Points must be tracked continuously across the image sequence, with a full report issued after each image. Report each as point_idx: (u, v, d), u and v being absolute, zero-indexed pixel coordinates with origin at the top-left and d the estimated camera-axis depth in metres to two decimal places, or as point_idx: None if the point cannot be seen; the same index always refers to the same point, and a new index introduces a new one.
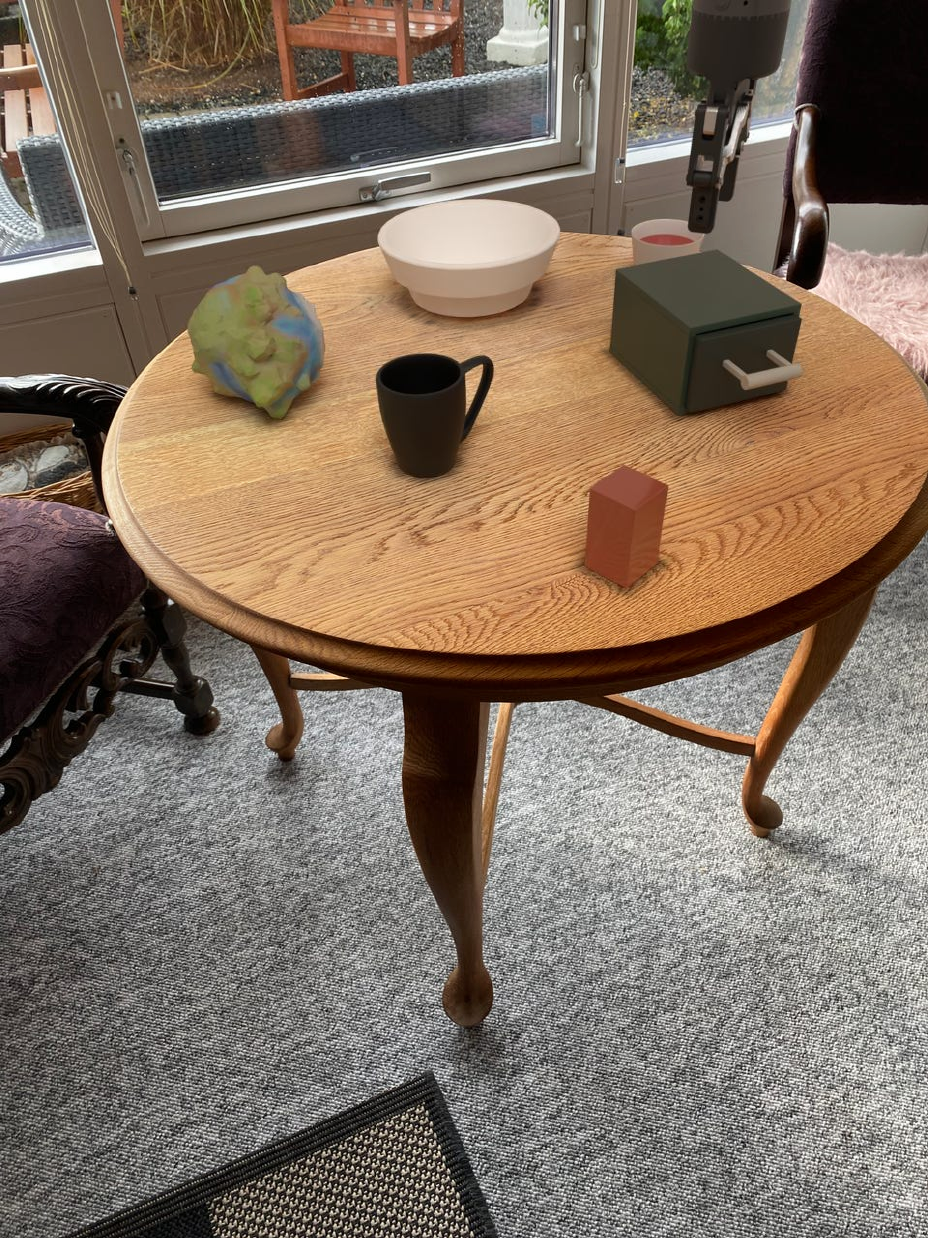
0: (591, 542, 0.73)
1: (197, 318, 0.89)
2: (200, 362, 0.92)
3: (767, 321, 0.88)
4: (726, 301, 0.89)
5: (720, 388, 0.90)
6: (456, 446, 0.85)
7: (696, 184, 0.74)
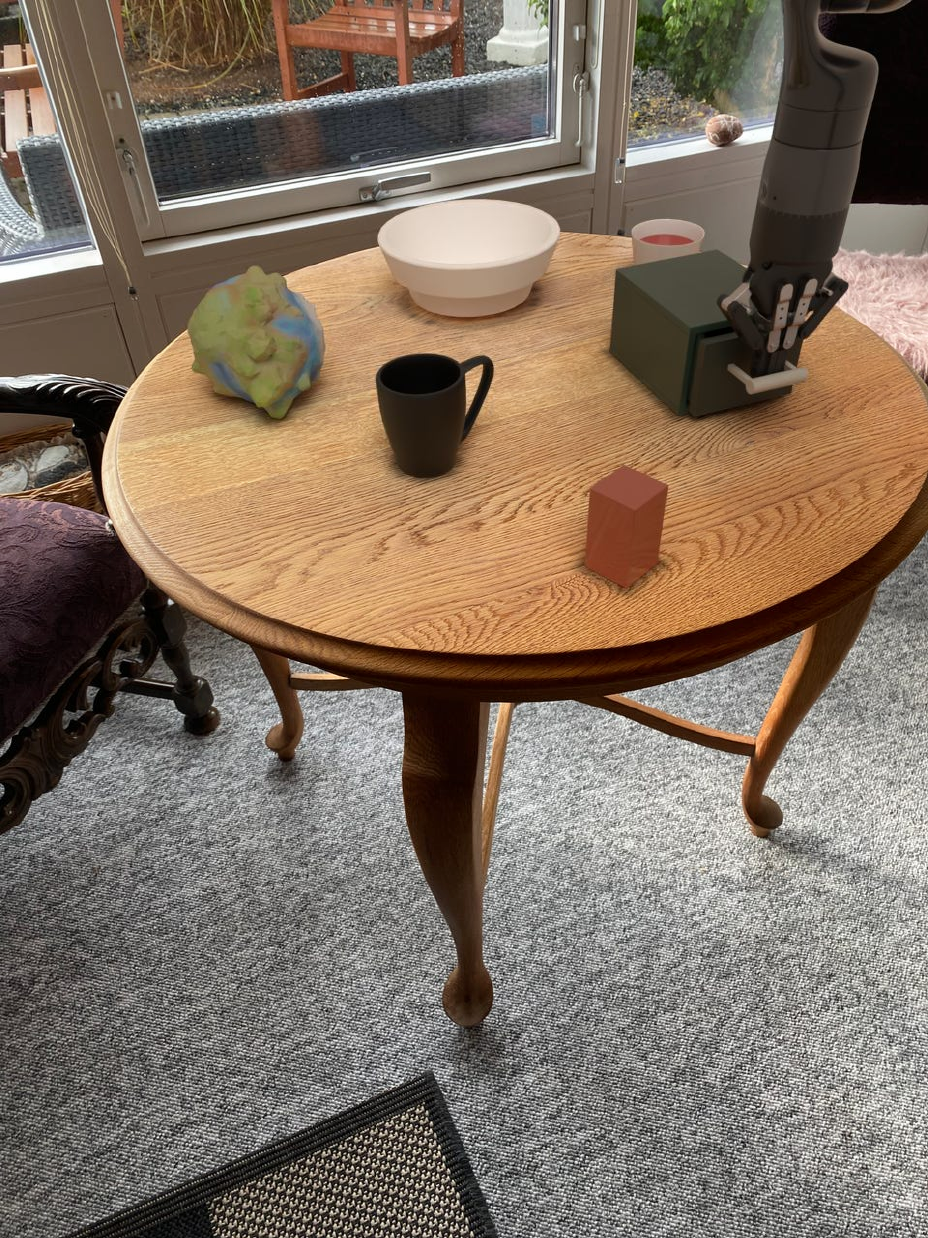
0: (591, 542, 0.73)
1: (197, 318, 0.89)
2: (200, 362, 0.92)
3: None
4: None
5: (725, 392, 0.89)
6: (456, 446, 0.85)
7: (743, 340, 0.83)
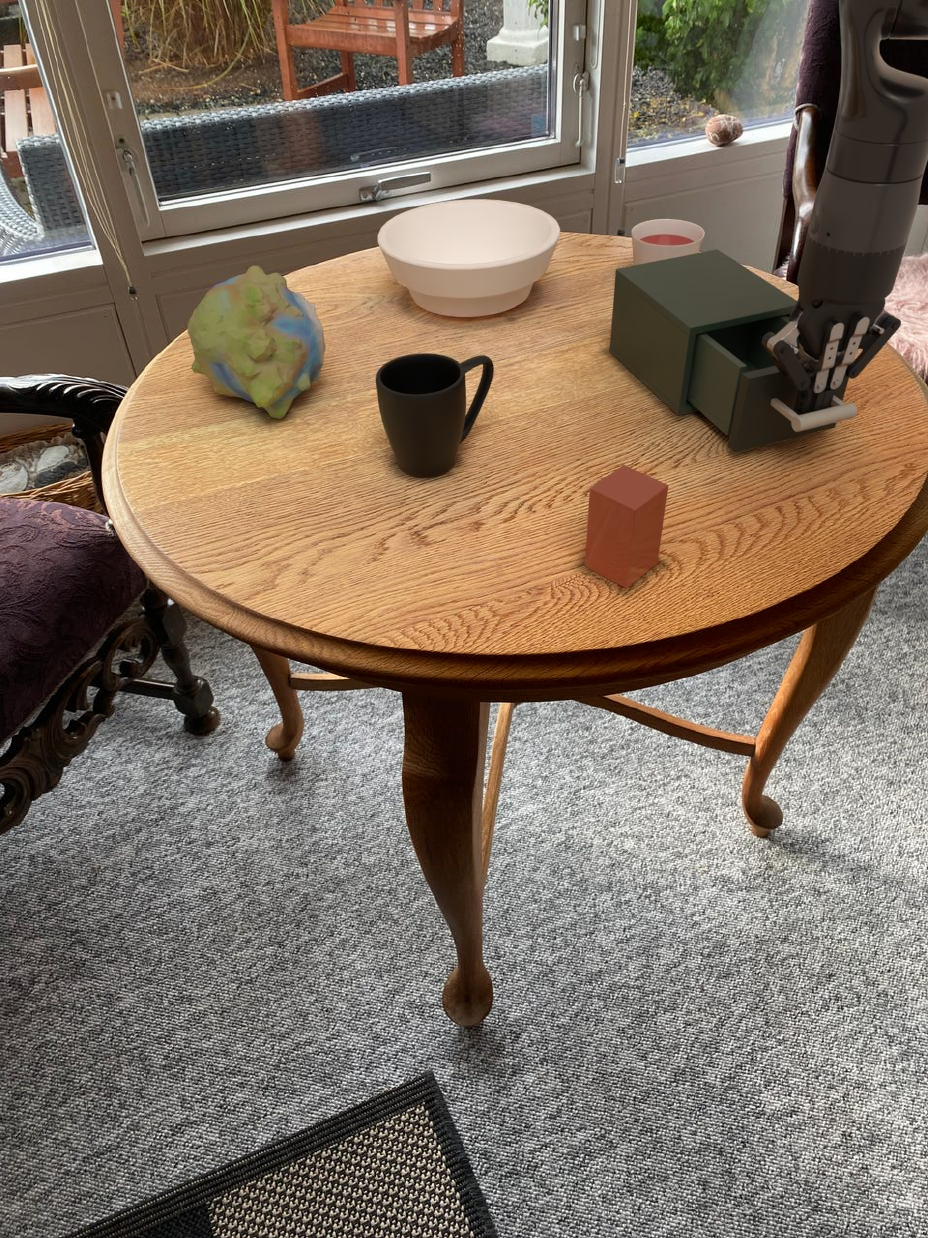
0: (591, 542, 0.73)
1: (197, 318, 0.89)
2: (200, 362, 0.92)
3: None
4: (726, 301, 0.89)
5: (767, 427, 0.84)
6: (456, 446, 0.85)
7: (787, 380, 0.79)
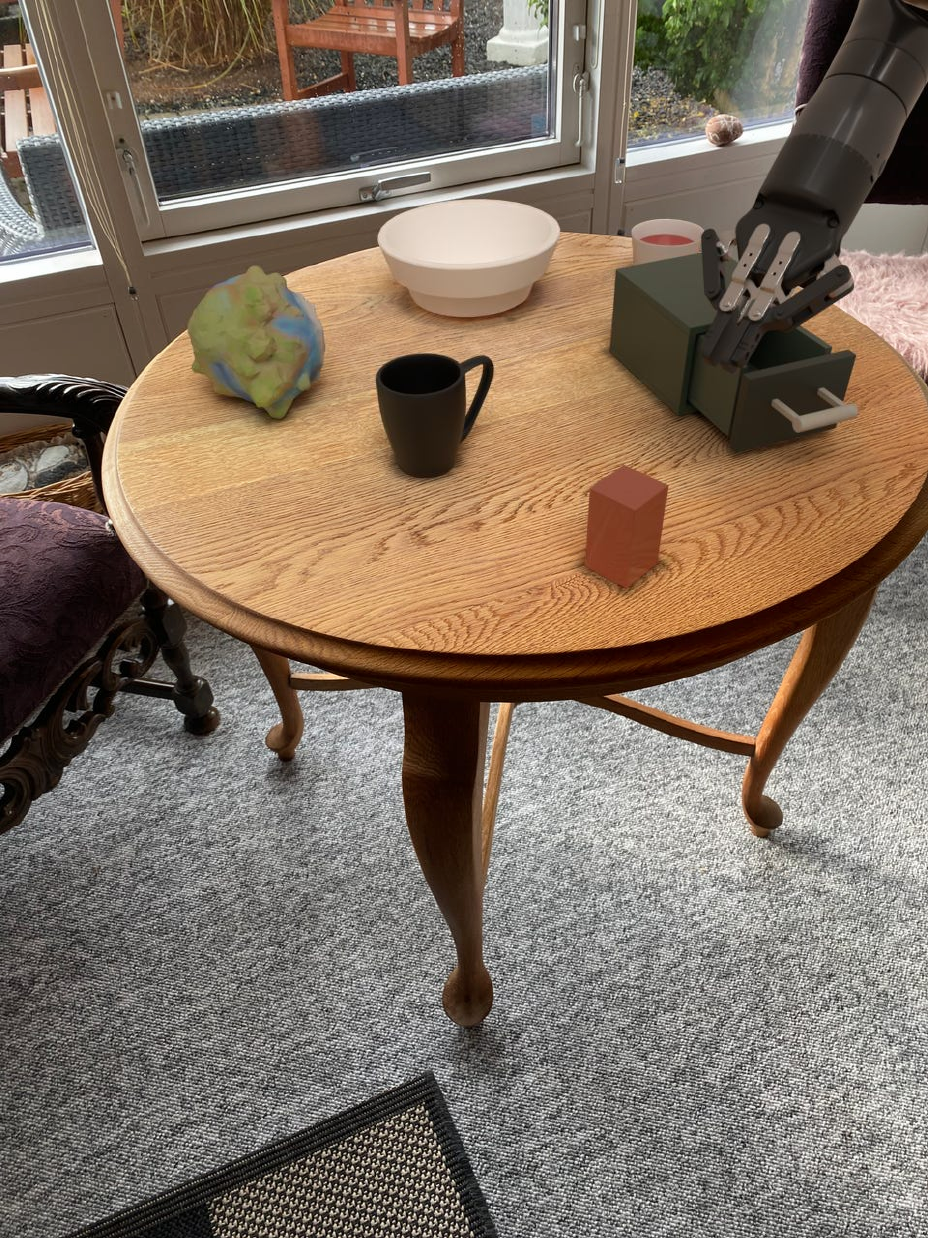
0: (591, 542, 0.73)
1: (197, 318, 0.89)
2: (200, 362, 0.92)
3: (819, 357, 0.82)
4: None
5: (767, 428, 0.84)
6: (456, 446, 0.85)
7: None
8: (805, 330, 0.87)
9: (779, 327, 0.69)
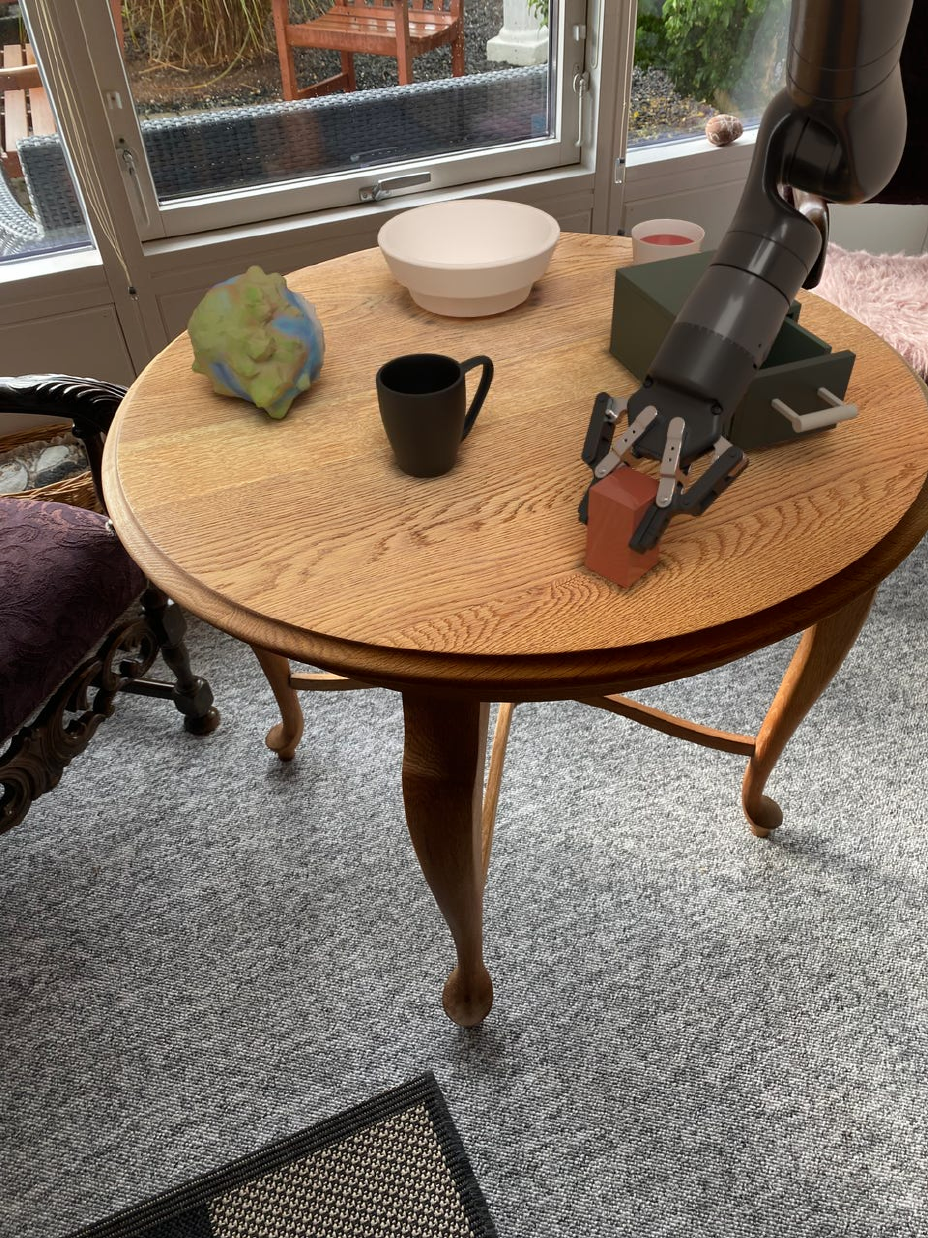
0: (591, 542, 0.73)
1: (197, 318, 0.89)
2: (200, 362, 0.92)
3: (819, 357, 0.82)
4: None
5: (767, 428, 0.84)
6: (456, 446, 0.85)
7: None
8: (805, 330, 0.87)
9: (689, 514, 0.69)
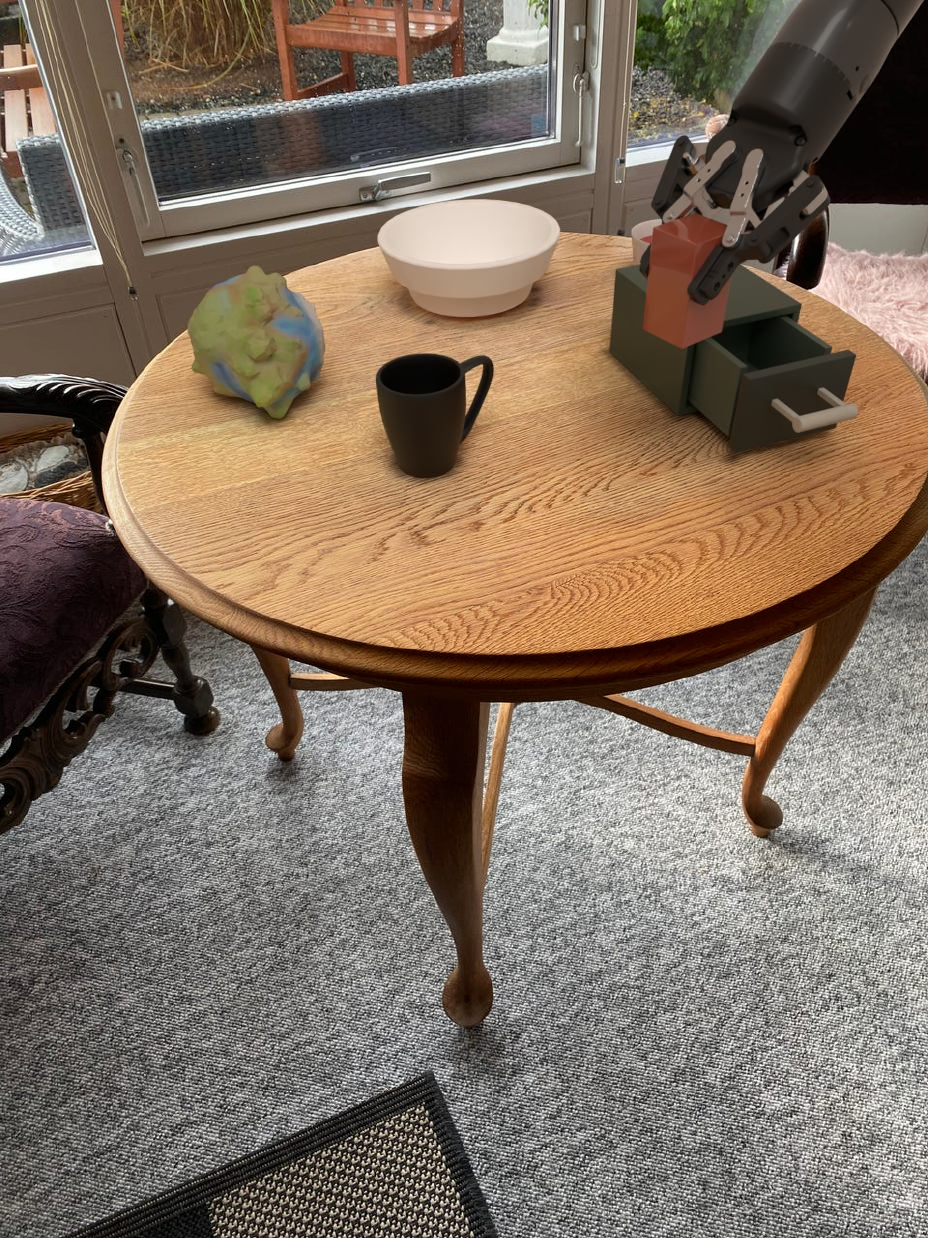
0: (651, 297, 0.69)
1: (197, 318, 0.89)
2: (200, 362, 0.92)
3: (819, 357, 0.82)
4: None
5: (767, 428, 0.84)
6: (456, 446, 0.85)
7: None
8: (805, 330, 0.87)
9: (757, 257, 0.64)
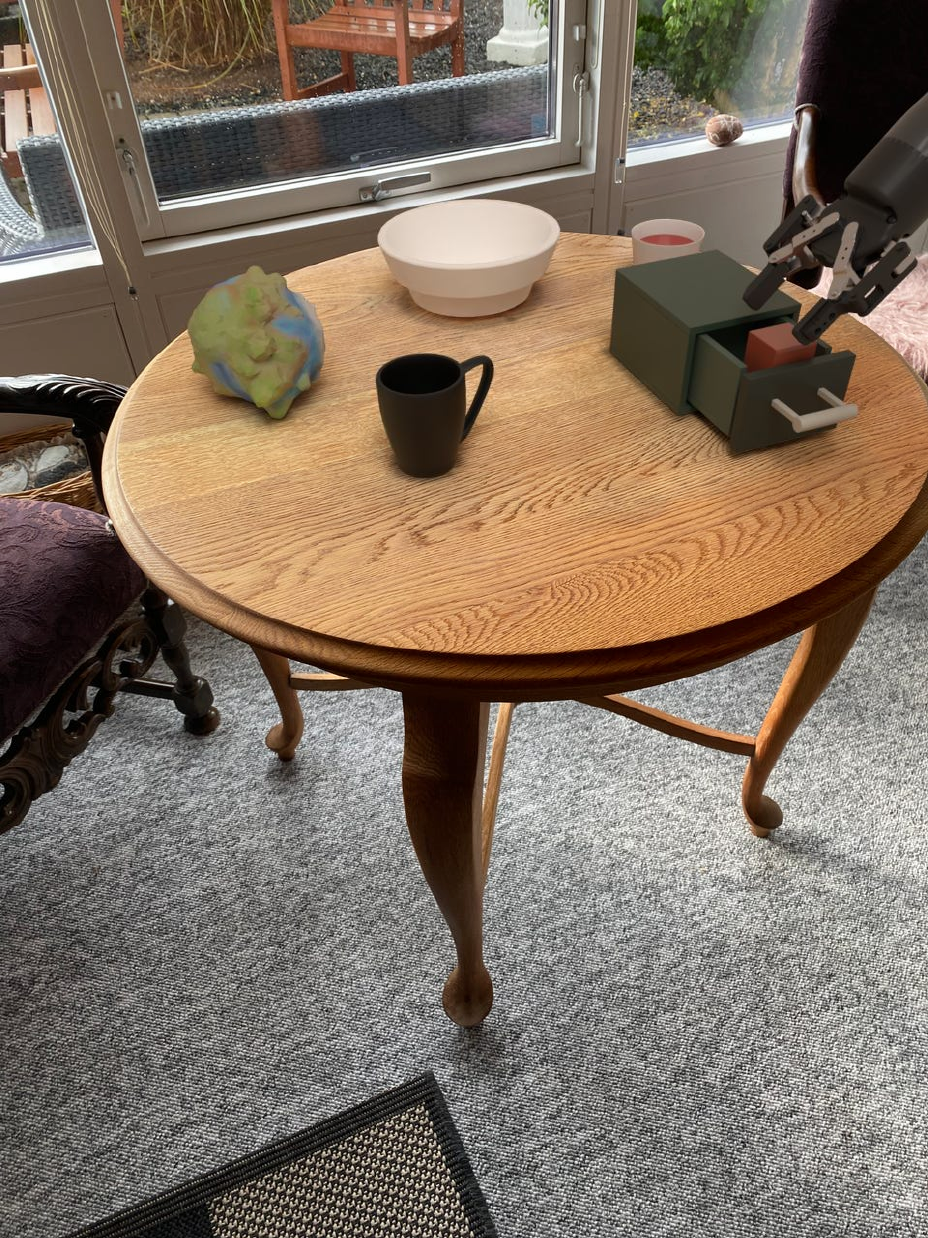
0: None
1: (197, 318, 0.89)
2: (200, 362, 0.92)
3: (819, 358, 0.82)
4: (726, 301, 0.89)
5: (767, 428, 0.84)
6: (456, 446, 0.85)
7: None
8: None
9: (856, 311, 0.75)
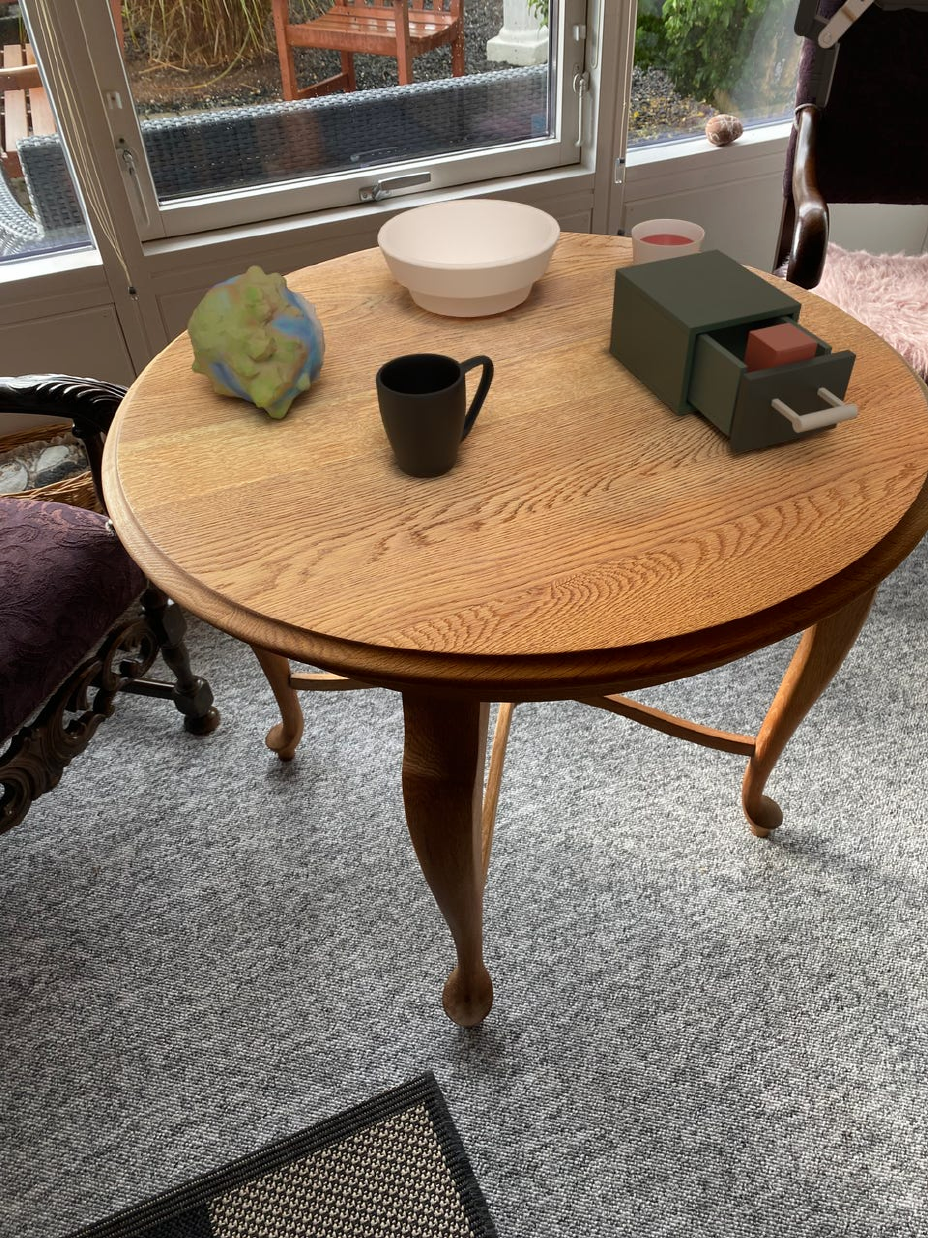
0: None
1: (197, 318, 0.89)
2: (200, 362, 0.92)
3: (819, 358, 0.82)
4: (726, 301, 0.89)
5: (767, 428, 0.84)
6: (456, 446, 0.85)
7: None
8: (805, 330, 0.87)
9: None
